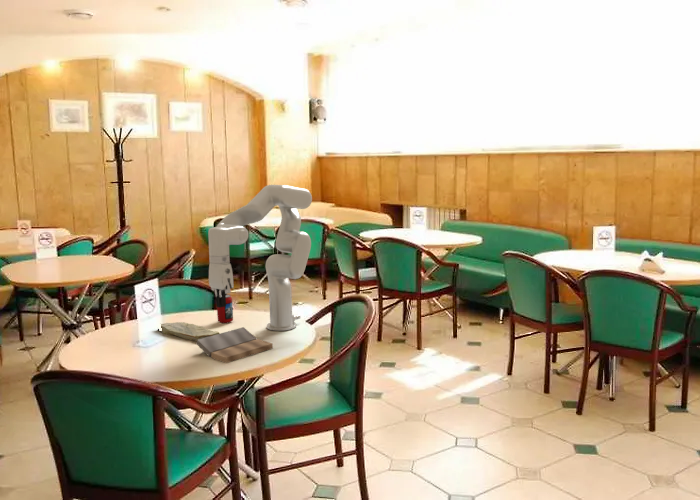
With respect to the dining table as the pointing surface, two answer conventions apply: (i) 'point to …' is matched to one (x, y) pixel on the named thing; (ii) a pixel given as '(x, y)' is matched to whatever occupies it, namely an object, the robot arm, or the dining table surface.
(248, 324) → the dining table surface
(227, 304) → the beverage can
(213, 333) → the stone slab
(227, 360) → the walnut board
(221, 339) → the smoked oak plank
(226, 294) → the robot arm
